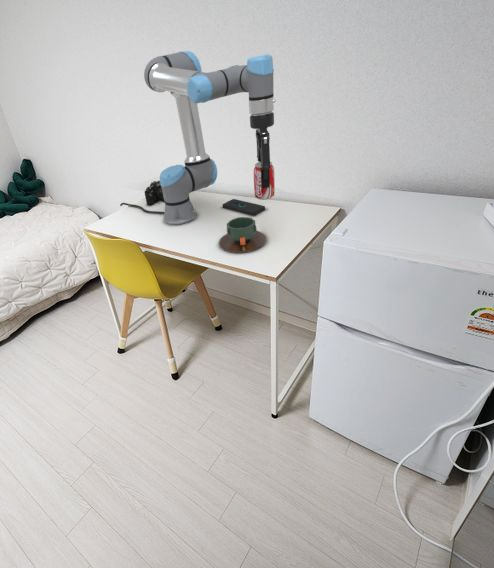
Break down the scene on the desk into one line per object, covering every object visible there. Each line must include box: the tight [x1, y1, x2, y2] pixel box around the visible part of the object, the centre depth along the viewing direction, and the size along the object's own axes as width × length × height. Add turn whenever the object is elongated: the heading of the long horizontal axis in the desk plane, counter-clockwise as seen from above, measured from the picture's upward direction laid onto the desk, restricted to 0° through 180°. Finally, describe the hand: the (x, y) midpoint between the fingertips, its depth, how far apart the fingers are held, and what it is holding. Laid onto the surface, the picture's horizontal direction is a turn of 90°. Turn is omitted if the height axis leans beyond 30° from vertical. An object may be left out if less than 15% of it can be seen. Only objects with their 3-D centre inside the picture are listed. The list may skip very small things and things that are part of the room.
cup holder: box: [226, 216, 257, 245], centre depth 131 cm, size 14×11×5 cm
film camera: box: [144, 179, 164, 206], centre depth 188 cm, size 18×12×10 cm
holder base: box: [218, 230, 267, 254], centre depth 135 cm, size 18×18×3 cm
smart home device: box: [222, 198, 266, 217], centre depth 162 cm, size 8×2×20 cm
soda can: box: [253, 161, 276, 201], centre depth 123 cm, size 7×7×12 cm
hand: (264, 183), depth 123 cm, fingers closed on soda can, 7 cm apart
